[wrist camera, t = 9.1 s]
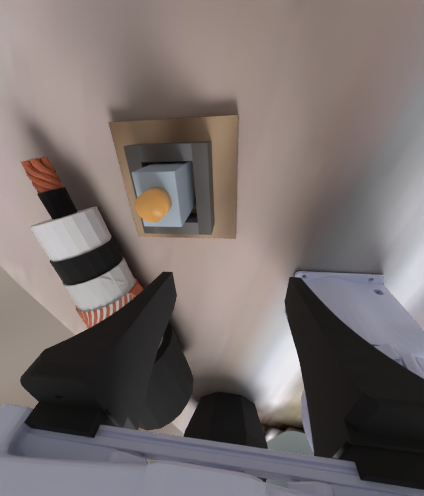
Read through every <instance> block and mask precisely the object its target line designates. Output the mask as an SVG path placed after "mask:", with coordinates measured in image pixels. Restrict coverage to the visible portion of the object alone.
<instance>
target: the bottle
mask: <svg viewBox="0 0 424 496" xmlns="http://www.w3.org/2000/svg"><path fill="white" fill-rule="evenodd" d="M184 437H188V438H195V439H202V440H209V441H216V442H222V443H229V444H236V445H243V446H249V447H256V448H263V449H268V448H267V443H266V440H265V436H264V433H263V430H262V427H261V424H260V420H259V417H258V414H257V411H256V407H255V404H253V403H251V402H250V401H248V400H247V399H245V398H243V397H242V396H238V395H232V394H226V393H219V392H217V393H214V394H211V395H208V396H205V397H202V398H201V399H200V401H199V404H198V406H197V408H196V410H195V412H194V414H193V416H192V418H191V420H190V422H189V424H188V426H187V428H186V430H185V433H184ZM257 478H259V479H261V480H262V481H263V482H266V478H260V477H257Z"/></svg>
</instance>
